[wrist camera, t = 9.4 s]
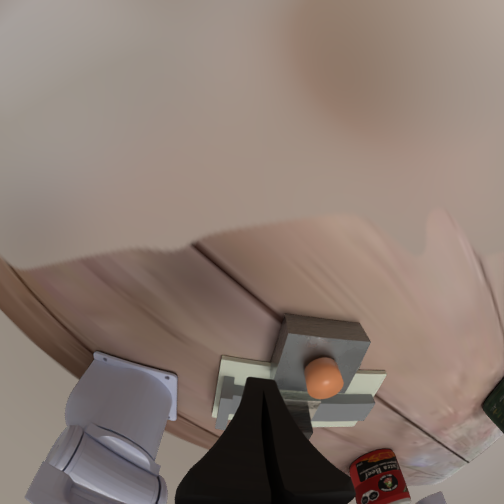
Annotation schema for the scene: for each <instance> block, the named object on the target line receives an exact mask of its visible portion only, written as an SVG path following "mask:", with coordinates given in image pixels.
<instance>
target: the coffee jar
mask: <svg viewBox="0 0 504 504" xmlns="http://www.w3.org/2000/svg"><path fill="white" fill-rule="evenodd" d="M483 410H484V412H485V413H486V414H487V416H488V417H489V418H490V419H491V420H492V421H493V422H494V423H495V424H496V426H497V427H498V428H499V429H500V430H501V431H502V432H503V433H504V379H503V380H502V381H501V382H500V384H499V385H498V386H497V387H496V388H495V390H494V391H493V392H492V393H491V395H490V396H489V397H488V398H487V399H486V401H485V403H484V406H483Z"/></svg>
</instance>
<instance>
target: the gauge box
mask: <svg viewBox="0 0 504 504" xmlns="http://www.w3.org/2000/svg"><path fill="white" fill-rule="evenodd" d="M370 343H371V341H370V340H369V338H368V336H367V335H366V333H365V331H364V329H363V328H362V326H361V324H360V323H355V322H346V321H338V320H330V319H322V318H314V317H307V316H300V315H293V314H287V313H285V315H284V318H283V322H282V325H281V329H280V332H279V336H278V339H277V343H276V346H275V349H274V353H273V356H272V359H271V368H270V379H273V380H275V381H276V383H277V386H278V388H279V389H280V390H291V391H303V392H308V391H307V386H306V381H305V376H304V370H305V368H306V366H307V365H308V364H309V363H310V362H312V361H313V360H315V359H318V358H331V359H333V360H335V361H336V363H337V365H338V368H339V370H340V373H341V376H342V379H343V382H344V384H343V387H342V389H341V390H340V392H339V393H345V392H346V390H347V389H348V387H349V385H350V383H351V381H352V379H353V377H354V375H355V374H356V372H357V371H358V370H359V368H360V365H361V362H362V360H363V357H364V355H365V353H366V351H367V349H368V347H369V345H370Z"/></svg>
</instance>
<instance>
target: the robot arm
mask: <svg viewBox="0 0 504 504" xmlns="http://www.w3.org/2000/svg"><path fill="white" fill-rule="evenodd" d="M167 376H168V377H167ZM177 383H178V377H177V375H175V374H173V373H169V372H165V371H161V370H157V369H154V368H150V367H146V366H143V365H139V364H136V363H132V362H129V361H126V360H122V359H119V358H116V357H113V356H110V355H107V354H104V353H101V352H98V351H95V353H94V360H93V362H92V363H91V365H90V366H89V367H88V369H87V370H86V372H85V373H84V374H83V376H82V377H81V379H80V380H79V382H78V383H77V384H76V386H75V387H74V389H73V390H72V392H71V394H70V396H69V398H68V401H67V404H66V408H65V420H66V424H67V427H66V428H65V430H64V431H63V432H62V433H61V434H60V436H59V437H58V439H57V440H56V442H55V443H54V445H53V446H52V448H51V450H50V452H49V453H48V455H47V457H46V460H45V461H43V462H42V464H41V466H40V468H39V470H38V472H37V474H36V476H35V477H34V479H33V481H32V483H31V485H30V487H29V489H28V491H27V493H26V495H25V499H26V500H28V501H29V502H30V503H31V504H166V503H167V497H168V490H167V486H166V482H165V480H164V478H163V477H162V476H160V475H158V474H159V470H160V465H158V464H156V463H155V458H156V455H157V452H158V448H159V445H160V442H161V439H162V435H163V432H164V429H165V426H166V422H167V419H168V420H172V421H175V420H176V418H177ZM355 496H356V492H355V488H354V485H353V482H352V480H351V477H349V476H348V475H346V474H345V473H344V472H342V471H341V470H339V469H338V468H336V467H335V466H334V465H333V464H332V463H330V462H329V461H328V460H327V459H326V458H325V457H324V456H323V455H322V454H321V453H320V452H319V451H318V450H317V449H316V448H315V447H314V446H313V445H312V444H311V442H310V441H309V440H308V439H307V437H306V436H305V435H304V434H303V432H302V431H301V429H300V428H299V426H298V425H297V423H296V422H295V420H294V418H293V417H292V415H291V413H290V411H289V410H288V408H287V406H286V404H285V402H284V400H283V398H282V395H281V393H280V391H279V388H278V386H277V383H276V381H275V380H273V379H264V378H257V377H247V379H246V383H245V386H244V390H243V394H242V398H241V402H240V404H239V407H238V409H237V411H236V413H235V414H234V416H233V418H232V420H231V422H230V423H229V425H228V426H227V428H226V429H225V431H224V432H223V434H222V435H221V437H220V438H219V439H218V440H217V442H216V443H215V444H214V445H213V447H212V448H211V449H210V450H209V451H208V452H207V453H206V454H205V456H204V457H203V458H202V459H201V460H200V461H198V462H197V463H196V464H195V465H194V466H193V467H192V468H191V469H190V470H189V471H188V473H187V474H186V475H185V477H184V478H183V480H182V481H181V482H180V484H179V486H178V488H177V490H176V495H175V504H348V503H349V502H350V501H351V500H353V498H354V497H355ZM416 504H446V501H445V499H444V496H443V494H442V492H441V491H440V492H437V493H435V494H432V495H430V496H427V497H425V498H423V499H421V500H420V501H418V502H417V503H416Z"/></svg>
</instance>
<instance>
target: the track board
mask: <svg viewBox="0 0 504 504" xmlns="http://www.w3.org/2000/svg"><path fill="white" fill-rule="evenodd" d="M270 368H271V363H269V362H262V361H255V360H248V359H242V358H235V357H230V356H224V355H222V360H221V365H220V371H219V377H218V383H217V389H216V395H215V401H214V407H213V413H212V417H215V418H217V420H216V427H215V429H221V430H225V429H226V425H227V421H228V420H232V418H233V416H234V414H235V413H236V411H237V409H238V407H239V404H240V402H241V398H242V394H243V390H244V386H245V383H246V379H247V377H257V378H264V379H270ZM386 375H387V373H386V372H385V371H374V370H358V371H357V372H356V374H355V375H354V377H353V379H352V381H351V383H350V385H349V387H348V389H347V390H346V392H345V393H337V394H336V395H334V396H332V397H330V398H327V399H321V403H320V405H319V407H318V409H317V411H316V412H315V414H314V416H313V418H312V420H311V424H312V427H349V426H354V425H355V424H356V423H357V421H364V420H365V418H366V417H367V415H368V414H369V412H370V411H371V409H372V408H373V406H374V405H375V401H374V399H373V397H374V395H375V394H376V392H377V390H378V389H379V387H380V385H381V384H382V382H383V380H384V378H385V377H386Z"/></svg>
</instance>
